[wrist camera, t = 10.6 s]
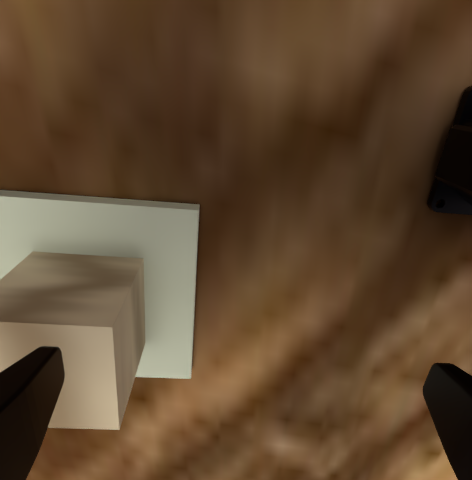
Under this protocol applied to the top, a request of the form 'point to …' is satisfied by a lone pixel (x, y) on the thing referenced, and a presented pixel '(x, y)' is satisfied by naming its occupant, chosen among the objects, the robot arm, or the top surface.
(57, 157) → the top surface
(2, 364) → the birch cube
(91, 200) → the sage board
